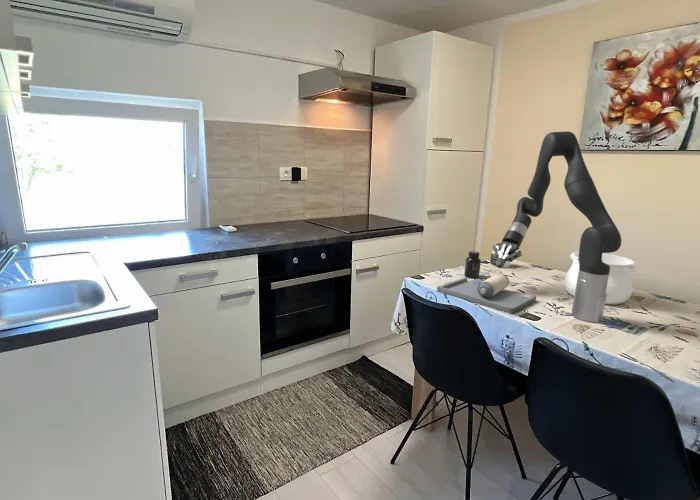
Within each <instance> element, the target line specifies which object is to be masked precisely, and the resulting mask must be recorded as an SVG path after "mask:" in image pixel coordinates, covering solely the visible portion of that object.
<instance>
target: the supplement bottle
mask: <svg viewBox="0 0 700 500" xmlns="http://www.w3.org/2000/svg"><path fill="white" fill-rule="evenodd" d="M480 254H481V253H480V252H479V251H477V250H476V251H475V250H470V251H468V256H467V257H466V259H465V263H464V264H465V265H464V277H465V278H467V279H479V278H480V273H481V263H482V260H481V258H480Z"/></svg>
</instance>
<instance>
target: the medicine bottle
mask: <svg viewBox="0 0 700 500" xmlns="http://www.w3.org/2000/svg"><path fill="white" fill-rule="evenodd" d="M500 243H501V242H499V243H496V245H495V246H498V245H499V244H500ZM498 254H499V255H500V248H499V250H498ZM497 260H498V259H497V258H496V255H495V252H494V251H491V256H490V262H489V265H490V266H493V267H495V268H497V266H496V262H497ZM510 265H511V262H509V261H506V262H505V264H504V266H503V267H501V268H500V269H502V268H503V269H505V268H510V267H511V266H510Z"/></svg>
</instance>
